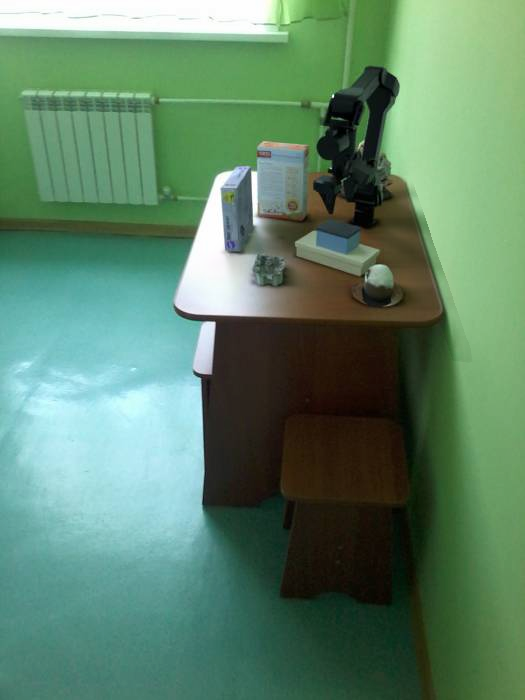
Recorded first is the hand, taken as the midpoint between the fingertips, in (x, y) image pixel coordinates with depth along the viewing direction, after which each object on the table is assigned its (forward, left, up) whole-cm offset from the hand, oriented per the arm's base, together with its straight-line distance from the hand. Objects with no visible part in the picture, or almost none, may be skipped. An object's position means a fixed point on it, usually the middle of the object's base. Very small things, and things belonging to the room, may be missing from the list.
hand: (339, 208), depth 161 cm
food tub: (+6, +3, -8) cm, 10 cm away
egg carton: (+23, -6, -12) cm, 27 cm away
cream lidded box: (+6, +3, -12) cm, 13 cm away
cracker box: (-10, -25, -12) cm, 29 cm away
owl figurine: (-39, -14, -12) cm, 43 cm away
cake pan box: (+10, -25, -12) cm, 30 cm away
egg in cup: (+15, +20, -12) cm, 28 cm away
